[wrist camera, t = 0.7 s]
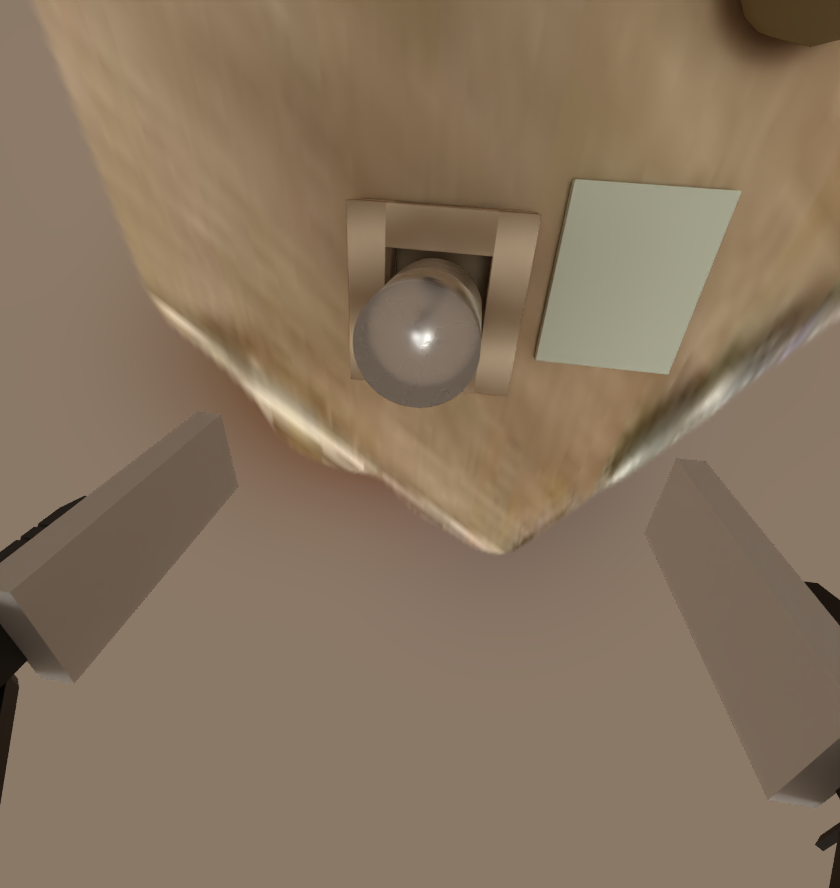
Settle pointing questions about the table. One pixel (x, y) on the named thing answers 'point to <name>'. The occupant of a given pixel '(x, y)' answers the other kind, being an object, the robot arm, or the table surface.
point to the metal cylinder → (421, 334)
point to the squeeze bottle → (795, 19)
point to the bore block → (454, 231)
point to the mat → (630, 272)
